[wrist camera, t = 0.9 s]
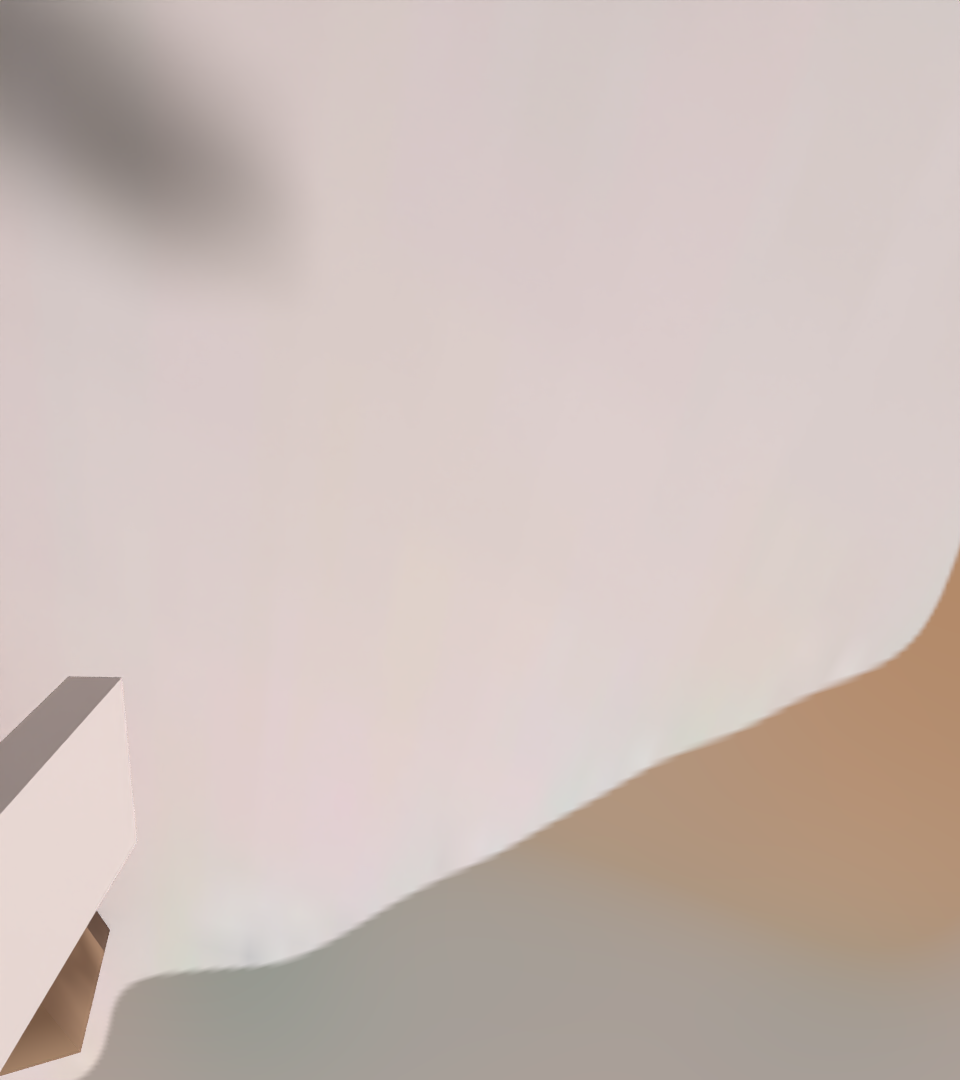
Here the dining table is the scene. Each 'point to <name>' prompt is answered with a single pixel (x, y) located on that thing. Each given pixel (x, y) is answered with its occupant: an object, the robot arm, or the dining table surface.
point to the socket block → (64, 1005)
